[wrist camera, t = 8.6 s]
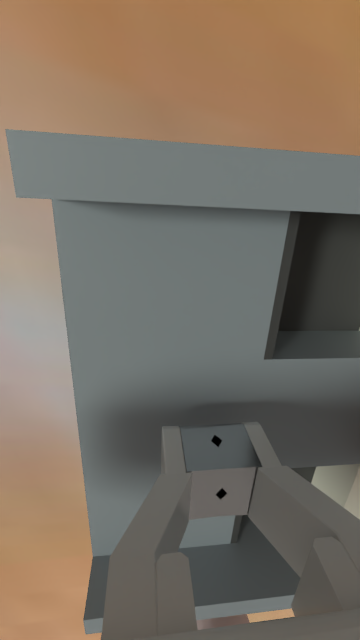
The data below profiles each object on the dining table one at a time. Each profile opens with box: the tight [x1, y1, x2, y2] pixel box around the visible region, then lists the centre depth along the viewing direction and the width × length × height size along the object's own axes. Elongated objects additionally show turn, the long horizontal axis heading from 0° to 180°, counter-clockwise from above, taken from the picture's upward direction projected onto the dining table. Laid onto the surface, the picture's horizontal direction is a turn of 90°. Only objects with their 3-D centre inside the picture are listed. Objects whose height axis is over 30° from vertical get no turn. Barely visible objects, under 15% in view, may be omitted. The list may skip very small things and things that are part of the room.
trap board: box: [5, 129, 360, 634], centre depth 11 cm, size 16×16×4 cm
